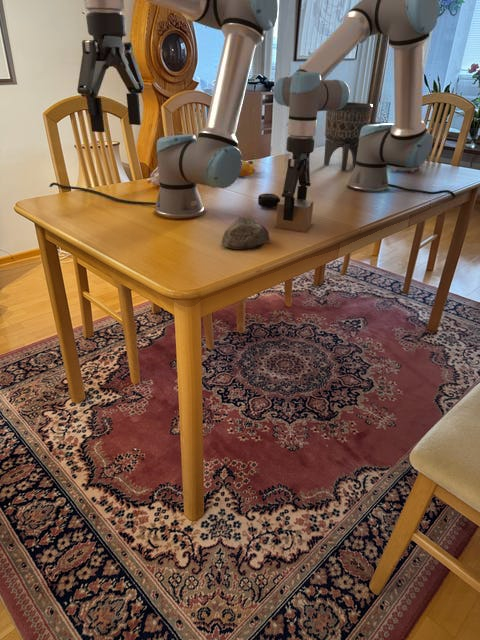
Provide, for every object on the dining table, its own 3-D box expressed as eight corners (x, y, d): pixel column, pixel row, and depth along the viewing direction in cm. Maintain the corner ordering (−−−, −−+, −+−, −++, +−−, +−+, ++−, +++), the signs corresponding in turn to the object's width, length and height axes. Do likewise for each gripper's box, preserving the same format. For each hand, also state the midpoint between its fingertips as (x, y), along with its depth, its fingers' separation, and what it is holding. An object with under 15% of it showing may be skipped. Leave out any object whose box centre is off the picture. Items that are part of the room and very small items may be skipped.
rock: (255, 233, 128) (256, 211, 124) (276, 242, 122) (278, 219, 119) (217, 244, 120) (217, 220, 117) (239, 254, 115) (239, 230, 111)
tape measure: (259, 210, 148) (260, 198, 147) (256, 204, 154) (256, 193, 152) (280, 209, 149) (281, 198, 147) (275, 203, 155) (276, 192, 153)
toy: (224, 169, 185) (230, 160, 198) (230, 184, 188) (235, 175, 200) (250, 160, 182) (254, 152, 194) (255, 175, 185) (259, 167, 197)
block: (283, 220, 140) (284, 197, 136) (311, 224, 137) (313, 201, 133) (275, 227, 134) (277, 203, 130) (304, 231, 131) (307, 207, 127)
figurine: (184, 183, 177) (182, 149, 170) (157, 191, 166) (154, 155, 160) (168, 180, 181) (166, 147, 174) (141, 188, 170) (138, 152, 163)
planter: (313, 167, 208) (319, 103, 195) (331, 160, 222) (338, 101, 209) (353, 173, 199) (362, 107, 185) (369, 166, 213) (379, 104, 199)
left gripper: (125, 17, 101) (135, 120, 112) (44, 7, 81) (65, 133, 92) (154, 17, 99) (161, 122, 109) (78, 6, 79) (96, 136, 89)
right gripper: (300, 130, 134) (294, 201, 145) (273, 141, 114) (268, 224, 125) (325, 131, 132) (317, 204, 142) (302, 144, 112) (295, 227, 122)
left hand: (117, 128), depth 101 cm, fingers open, 13 cm apart
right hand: (294, 214), depth 134 cm, fingers open, 12 cm apart
